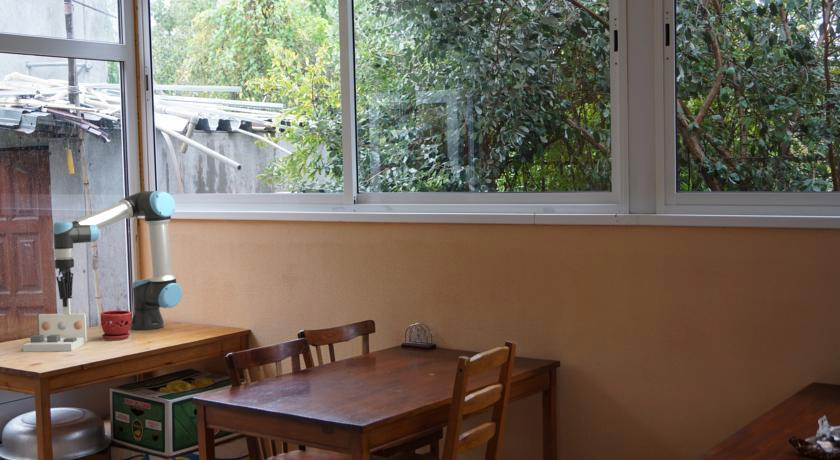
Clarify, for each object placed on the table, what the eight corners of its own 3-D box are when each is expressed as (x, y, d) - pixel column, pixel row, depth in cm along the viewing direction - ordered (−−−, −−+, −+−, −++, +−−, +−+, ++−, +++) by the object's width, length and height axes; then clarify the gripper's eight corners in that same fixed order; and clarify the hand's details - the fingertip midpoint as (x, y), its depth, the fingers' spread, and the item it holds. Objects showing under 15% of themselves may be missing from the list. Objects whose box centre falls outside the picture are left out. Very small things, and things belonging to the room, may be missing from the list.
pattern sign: (88, 342, 408) (87, 312, 407) (84, 344, 403) (82, 314, 402) (42, 342, 408) (41, 313, 407) (38, 345, 403) (36, 315, 402)
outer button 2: (44, 341, 397) (43, 334, 397) (40, 343, 393) (39, 336, 393) (34, 341, 397) (34, 334, 397) (30, 343, 393) (30, 336, 393)
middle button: (60, 341, 397) (60, 334, 397) (56, 343, 393) (56, 336, 393) (51, 341, 397) (50, 334, 397) (47, 343, 393) (46, 336, 393)
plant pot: (108, 342, 406) (107, 315, 405) (96, 338, 416) (95, 312, 415) (137, 338, 414) (136, 311, 414) (124, 334, 424) (123, 308, 423)
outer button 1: (77, 344, 397) (76, 337, 397) (73, 346, 393) (73, 339, 393) (67, 344, 397) (67, 337, 397) (63, 346, 393) (63, 339, 393)
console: (83, 344, 402) (83, 337, 402) (71, 351, 388) (70, 343, 388) (37, 345, 403) (37, 338, 402) (23, 351, 389) (23, 344, 388)
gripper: (61, 257, 399) (63, 311, 401) (49, 260, 386) (51, 316, 388) (78, 256, 399) (81, 311, 401) (67, 259, 386) (69, 316, 388)
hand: (66, 314), depth 394 cm, fingers closed
